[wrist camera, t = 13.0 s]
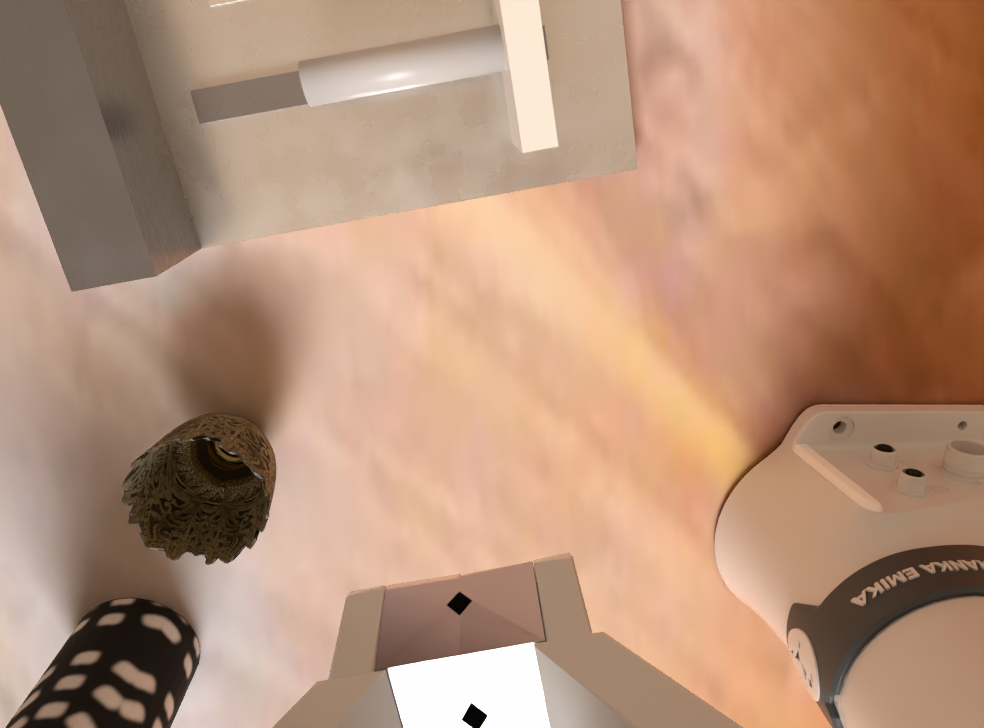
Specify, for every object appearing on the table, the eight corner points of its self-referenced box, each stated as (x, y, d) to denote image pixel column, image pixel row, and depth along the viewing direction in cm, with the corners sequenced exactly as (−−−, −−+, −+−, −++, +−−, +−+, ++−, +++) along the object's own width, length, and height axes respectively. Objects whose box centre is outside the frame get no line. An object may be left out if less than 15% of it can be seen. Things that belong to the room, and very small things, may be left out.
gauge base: (601, -123, 37) (639, -178, 29) (631, 166, 42) (670, 183, 34) (46, -19, 37) (-58, -47, 30) (140, 255, 42) (71, 291, 34)
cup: (166, 476, 47) (111, 550, 39) (184, 370, 44) (129, 426, 37) (285, 502, 48) (254, 579, 40) (308, 400, 45) (279, 461, 38)
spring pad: (507, -117, 35) (517, -157, 29) (543, 138, 39) (558, 146, 33) (278, -74, 35) (244, -106, 29) (338, 175, 39) (318, 190, 33)
